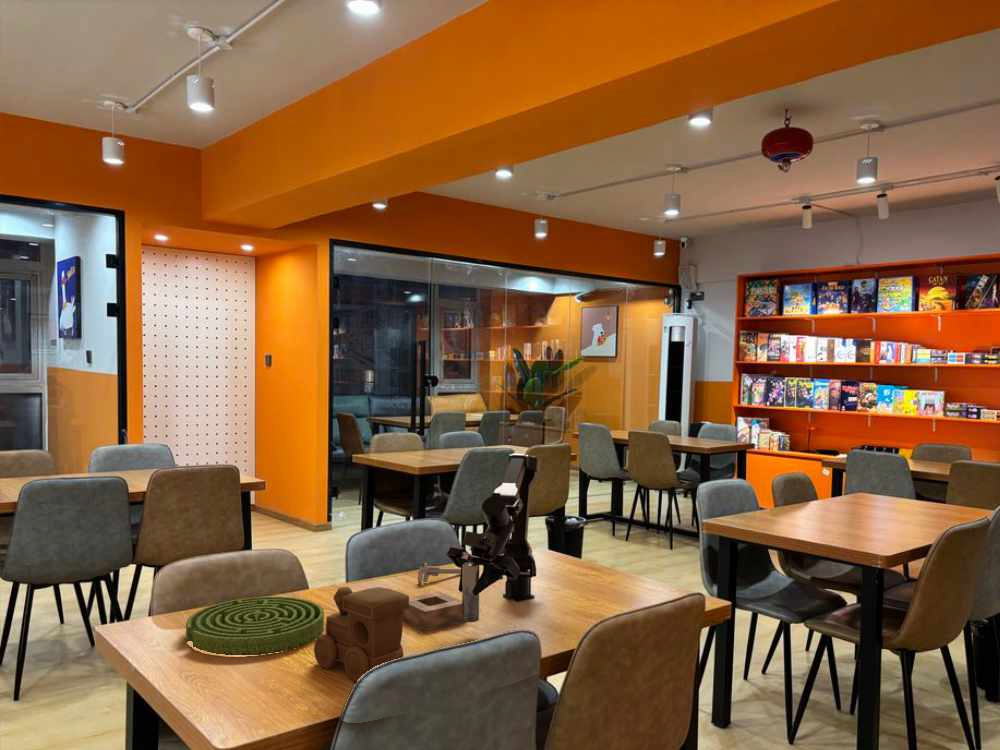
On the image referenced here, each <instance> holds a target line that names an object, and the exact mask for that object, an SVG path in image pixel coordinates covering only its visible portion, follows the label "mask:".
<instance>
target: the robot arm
mask: <svg viewBox="0 0 1000 750" xmlns="http://www.w3.org/2000/svg"><path fill="white" fill-rule="evenodd" d="M507 458H508V459H507V460H508V462H507V469H506V472H505V474H504V477H503V481H502V483H501V485H499V486H498V487H496V488H495V489H494V491H493V492H492V494H491V496H489V497H487V498H485V500H484V501H483V502H482V505H481V509H482V512H483V515H484V518H485V521H486V524H487V525H488V527H487V528H486V530H485V532H481V533H479V532H473V531H468V530H467V531H465V534H464V538H463V542H462V545H463V546H468V547H469V551H471V552H472V553H473V555H472V554H470V553H469V552H468V551H467V550H466V548H464V547H461V546H455V545H453V546H450V547H449V548H448V551H447V552H446V556H447V557H448V559H450V561H451V562H452V563H453V564H454V565H455V567H457V568H458V569H461V574H459V583H458V584H459V585H458V591H459V593H462V564H464V563H468V562H474V563H478V564H479V566H482V572H481V575H479V580H478V582H477V584H476V586H475V589H474V591H473V594H474V595H475V596H476V595H478V594H479V595H480V593H482V592H483V591H484V590H486V589H487V588H489V587H490V586H491V585H493V584H495V583H496V582H498V581H500V580H503V579H504V577H505V578H506V580H505V589H504V592H505V593H503V594H502V597H504V598H505V599H506V598H507V599H510V600H512V601H514V602H521V601H525V600H529V599H533V598H535V595H534V594H532V578H534V577H535V578H536V577H537V565H536V560H535V559H534V558H535V557H534V555H533V548H532V547H531V544H530V543H529V541H528V535H529V534H528V533H529V522H530V521H529V520H530V507H531V493H532V488H533V486H534V485H535V484H536V482H537V480H538V478H539V477H538V476H539V473H540V472H541V467H542V466H541V460H540V459H539V458H538V457H537V456H536V455H529V454H526V453H511V454H509V456H508V457H507ZM511 517H512V518H511Z"/></svg>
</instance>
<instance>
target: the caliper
mask: <svg viewBox="0 0 1000 750" xmlns="http://www.w3.org/2000/svg"><path fill="white" fill-rule="evenodd" d="M440 574H441V575H444V574H448V575H449V574H450V575H455V574H456V575H461V568H459V567H457V568H454V567H453V568H452V567H451V568H449V567H444V568H443V567H442V568H441V567H439V566H431V565H430V566H429V565H428V562H421V566H419V568H418V572H417V583H418V585H422V584H423V582H428V579H430V578H429V577H430V576H433V577H439V575H440Z"/></svg>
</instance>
